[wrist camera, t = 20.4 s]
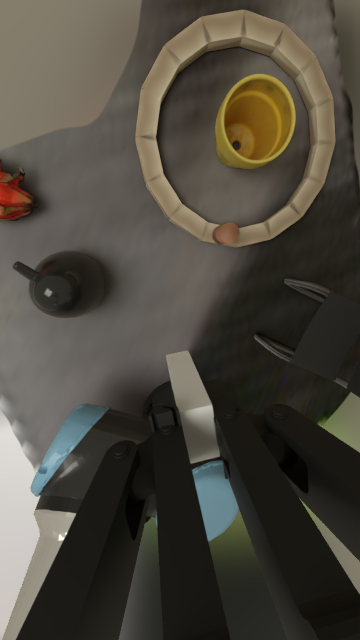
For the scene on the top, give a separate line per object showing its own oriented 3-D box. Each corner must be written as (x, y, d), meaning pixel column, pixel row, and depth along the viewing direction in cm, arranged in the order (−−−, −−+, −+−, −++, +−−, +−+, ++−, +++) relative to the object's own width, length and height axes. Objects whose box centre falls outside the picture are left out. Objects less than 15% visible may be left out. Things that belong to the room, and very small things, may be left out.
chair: (317, 365, 57) (418, 432, 36) (248, 335, 54) (317, 390, 32) (349, 311, 55) (477, 348, 34) (280, 275, 51) (376, 292, 30)
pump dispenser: (71, 236, 45) (37, 230, 30) (120, 279, 48) (110, 292, 33) (32, 281, 46) (-19, 296, 31) (82, 321, 49) (56, 351, 34)
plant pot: (250, 190, 47) (277, 175, 37) (195, 166, 45) (209, 144, 35) (274, 127, 45) (309, 94, 35) (217, 98, 43) (239, 56, 33)
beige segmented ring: (297, 259, 51) (320, 261, 44) (125, 226, 45) (122, 222, 38) (351, 59, 43) (389, 24, 37) (154, -9, 38) (156, -64, 31)
